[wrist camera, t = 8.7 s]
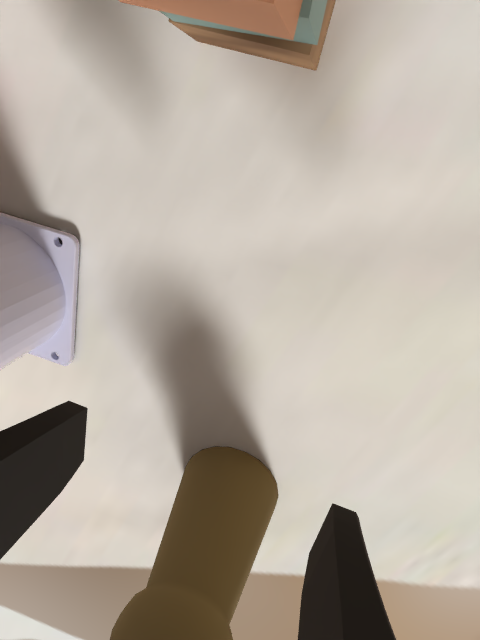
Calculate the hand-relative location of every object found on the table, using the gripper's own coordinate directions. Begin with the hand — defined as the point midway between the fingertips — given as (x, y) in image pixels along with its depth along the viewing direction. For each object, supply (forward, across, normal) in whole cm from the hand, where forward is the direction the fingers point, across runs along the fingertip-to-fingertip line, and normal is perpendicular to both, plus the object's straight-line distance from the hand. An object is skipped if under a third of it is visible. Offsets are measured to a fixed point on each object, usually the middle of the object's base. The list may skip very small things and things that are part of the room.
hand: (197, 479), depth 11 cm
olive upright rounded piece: (+11, 0, +11) cm, 15 cm away
